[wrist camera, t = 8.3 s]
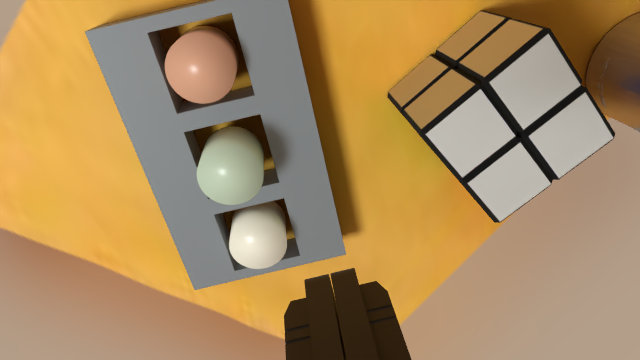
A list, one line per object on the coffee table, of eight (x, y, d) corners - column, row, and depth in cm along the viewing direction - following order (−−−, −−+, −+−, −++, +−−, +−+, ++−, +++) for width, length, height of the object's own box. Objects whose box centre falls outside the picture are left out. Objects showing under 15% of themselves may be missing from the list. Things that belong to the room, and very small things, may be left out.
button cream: (278, 192, 42) (279, 214, 38) (290, 236, 44) (293, 261, 40) (225, 204, 42) (221, 228, 38) (240, 248, 44) (238, 274, 40)
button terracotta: (228, 19, 35) (224, 26, 32) (246, 81, 37) (243, 95, 34) (165, 34, 35) (154, 43, 32) (187, 95, 37) (178, 110, 34)
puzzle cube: (543, 97, 41) (620, 137, 32) (451, 170, 43) (498, 227, 34) (482, 7, 37) (550, 25, 28) (384, 93, 39) (418, 134, 30)
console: (283, -19, 35) (284, -16, 32) (341, 236, 45) (346, 254, 42) (98, 25, 35) (84, 31, 32) (199, 269, 45) (194, 290, 42)
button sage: (254, 120, 37) (253, 138, 33) (270, 174, 39) (270, 196, 35) (195, 134, 37) (187, 154, 33) (214, 187, 39) (208, 211, 35)
